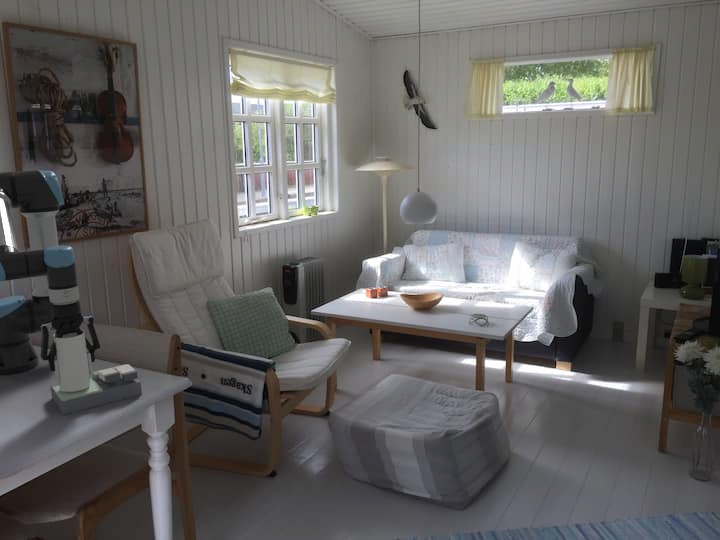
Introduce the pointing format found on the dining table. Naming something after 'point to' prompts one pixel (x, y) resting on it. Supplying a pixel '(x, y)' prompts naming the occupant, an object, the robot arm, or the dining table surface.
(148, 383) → the dining table surface
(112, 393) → the panel
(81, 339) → the cup
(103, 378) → the light grey rectangular block
